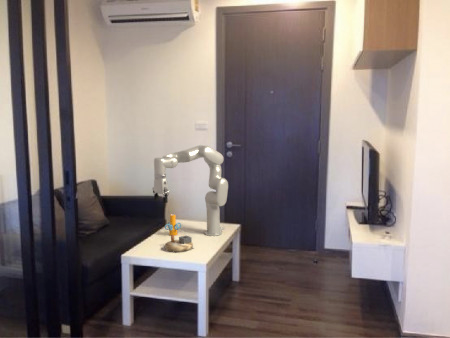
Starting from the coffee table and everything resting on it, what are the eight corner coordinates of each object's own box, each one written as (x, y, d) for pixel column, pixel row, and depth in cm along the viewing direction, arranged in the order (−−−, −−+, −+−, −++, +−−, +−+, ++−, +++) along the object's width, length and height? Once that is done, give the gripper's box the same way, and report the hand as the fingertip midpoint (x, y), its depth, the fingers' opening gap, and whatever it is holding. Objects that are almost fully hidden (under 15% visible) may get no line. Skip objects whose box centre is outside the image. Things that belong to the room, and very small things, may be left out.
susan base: (182, 243, 293) (182, 243, 293) (193, 248, 282) (193, 248, 282) (164, 247, 284) (164, 247, 284) (175, 253, 273) (175, 252, 273)
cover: (186, 240, 290) (186, 235, 289) (191, 242, 285) (191, 237, 285) (179, 242, 286) (178, 237, 286) (183, 244, 281) (183, 238, 281)
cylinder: (177, 237, 308) (177, 217, 306) (163, 236, 310) (163, 216, 308) (182, 232, 320) (182, 213, 318) (169, 232, 322) (168, 212, 320)
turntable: (183, 241, 295) (182, 232, 294) (198, 247, 281) (197, 238, 280) (160, 246, 284) (159, 237, 283) (174, 253, 270) (174, 243, 269)
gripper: (172, 177, 279) (173, 202, 281) (157, 174, 292) (157, 199, 294) (163, 178, 274) (164, 204, 276) (147, 175, 286) (148, 201, 289)
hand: (160, 201), depth 285 cm, fingers open, 9 cm apart
